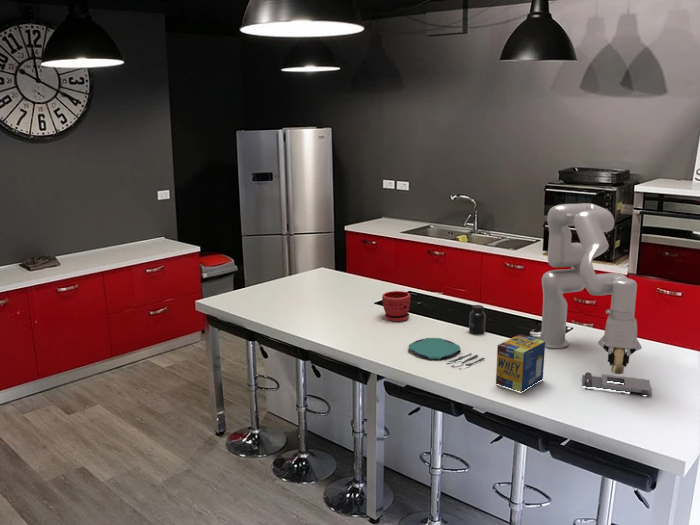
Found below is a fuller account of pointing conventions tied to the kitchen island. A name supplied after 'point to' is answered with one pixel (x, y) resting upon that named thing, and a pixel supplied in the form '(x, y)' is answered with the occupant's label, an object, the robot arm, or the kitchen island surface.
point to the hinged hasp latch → (629, 384)
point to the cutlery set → (438, 349)
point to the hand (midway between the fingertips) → (617, 364)
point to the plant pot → (396, 305)
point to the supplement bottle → (477, 320)
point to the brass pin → (618, 360)
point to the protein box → (520, 362)
